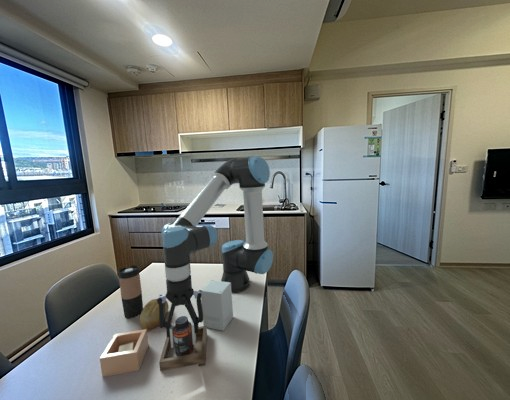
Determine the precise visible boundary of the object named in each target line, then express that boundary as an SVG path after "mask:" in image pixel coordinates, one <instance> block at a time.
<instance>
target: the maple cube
mask: <svg viewBox="0 0 510 400" xmlns="http://www.w3.org/2000/svg"><path fill="white" fill-rule="evenodd" d="M129 350H134V343H133V342H131V343H128V344H125V345H122V346H119V351H118V352H123V351H129Z"/></svg>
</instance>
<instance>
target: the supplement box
mask: <svg viewBox="0 0 510 400" xmlns="http://www.w3.org/2000/svg"><path fill="white" fill-rule="evenodd" d="M200 290H201V291H202V295H201V302H202V309H203V322H202V323H203V326H206V328H207V329H208V328H209V329H214V330H218V331H225V329H226V328H227V327H228V325H229V324H230V322H231V321H232V320H233V317H234V310H233V296H232V294H233V293H232V292H231V283H230V282H222V281H221V280H213V279H212V280H211V281H209V283H207V284H206V285H205V286H203V288H202V289H200Z"/></svg>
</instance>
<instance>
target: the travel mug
mask: <svg viewBox="0 0 510 400" xmlns="http://www.w3.org/2000/svg"><path fill="white" fill-rule="evenodd" d="M117 273H118V280H119V289H120V290H119V291H120V298H121V303H122V310H123V314H124V315H123V316H124V317H125V318H126V319H133V318H137V317H138V316H139V317H140V315H141V312H142V310H143V308H144V306H143V305H144V304H143V302H144V301H143V292H142V283H141V275H140V269H139V266H138V265H133V264H132V265H130V266H129V267H122V268H120V269H119V270H118V272H117Z"/></svg>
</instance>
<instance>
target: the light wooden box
mask: <svg viewBox="0 0 510 400" xmlns="http://www.w3.org/2000/svg"><path fill="white" fill-rule="evenodd" d="M148 338H149V337H148V330H147V329H139V330H138V329H137V330H133V331H132V330H131V331H126V332H120V333H118V332H117V333H114V334H113V336H112V337H111V339H110V340H109V342H108V344H107V346H106V348H105V349H104V351H102V352H103V353H102V354H101V356H100V357H99V363H100V370H101V377H102V378H103V377H109V376H115V375H119V374H120V375H122V374H125V373H131V372H132V373H133V372H136V371H137V372H138V371H140V368H141V366H142V363H143V360H144V359H145V356H146V352H147V350H148V348H149V339H148ZM131 342H133V343H134V350H129V351H123V352H118V351H119V346H122V345H125V344H128V343H131Z"/></svg>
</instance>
